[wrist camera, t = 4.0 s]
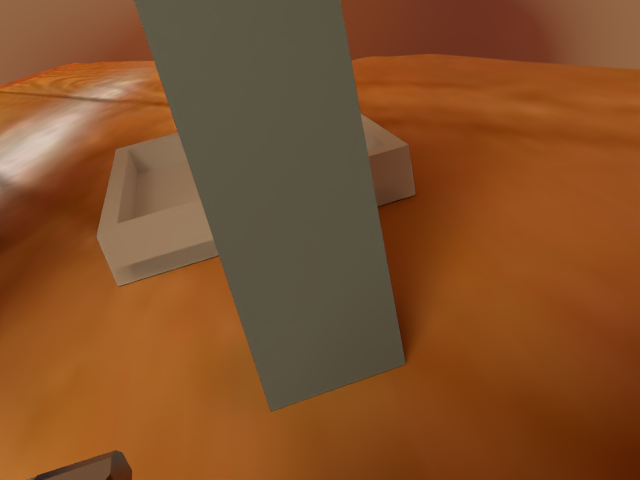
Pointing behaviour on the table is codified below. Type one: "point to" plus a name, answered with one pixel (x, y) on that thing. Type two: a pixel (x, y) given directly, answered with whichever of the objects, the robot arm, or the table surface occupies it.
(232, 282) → the slate block
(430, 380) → the table surface
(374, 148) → the bin
